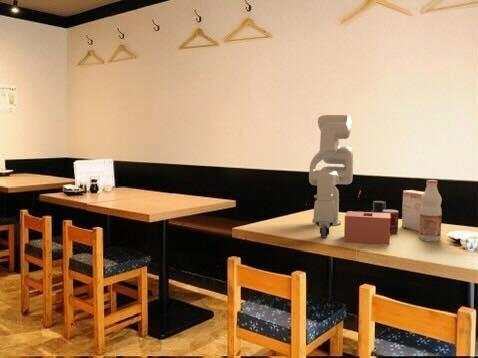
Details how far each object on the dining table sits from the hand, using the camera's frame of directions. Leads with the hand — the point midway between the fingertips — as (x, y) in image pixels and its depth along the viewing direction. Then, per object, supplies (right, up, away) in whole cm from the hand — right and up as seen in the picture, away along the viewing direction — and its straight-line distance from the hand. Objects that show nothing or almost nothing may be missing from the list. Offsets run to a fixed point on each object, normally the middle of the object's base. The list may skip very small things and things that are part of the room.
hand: (324, 235), depth 233 cm
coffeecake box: (+52, +1, +21) cm, 56 cm away
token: (0, -1, 0) cm, 1 cm away
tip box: (+19, -1, -6) cm, 20 cm away
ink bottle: (+37, +2, +37) cm, 52 cm away
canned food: (+35, 0, +12) cm, 37 cm away
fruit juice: (+49, -2, -5) cm, 49 cm away
